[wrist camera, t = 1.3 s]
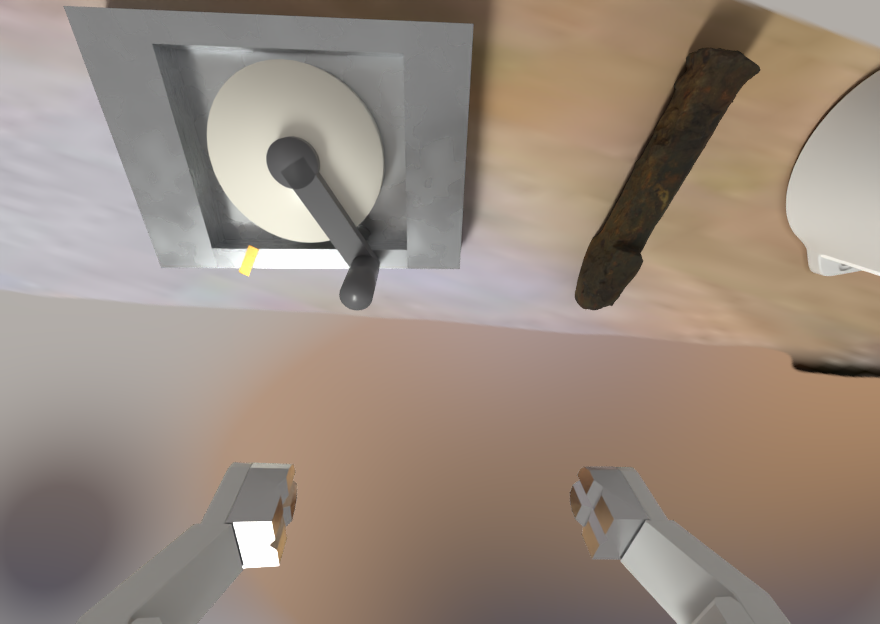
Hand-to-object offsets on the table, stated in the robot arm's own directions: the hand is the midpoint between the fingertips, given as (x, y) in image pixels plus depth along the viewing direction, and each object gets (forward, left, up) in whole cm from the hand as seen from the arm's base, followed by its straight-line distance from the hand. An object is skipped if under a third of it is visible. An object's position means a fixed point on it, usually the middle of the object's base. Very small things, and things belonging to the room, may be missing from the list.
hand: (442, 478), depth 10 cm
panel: (+8, -6, -22) cm, 25 cm away
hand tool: (-17, -3, -23) cm, 28 cm away
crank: (+8, -4, -21) cm, 23 cm away
